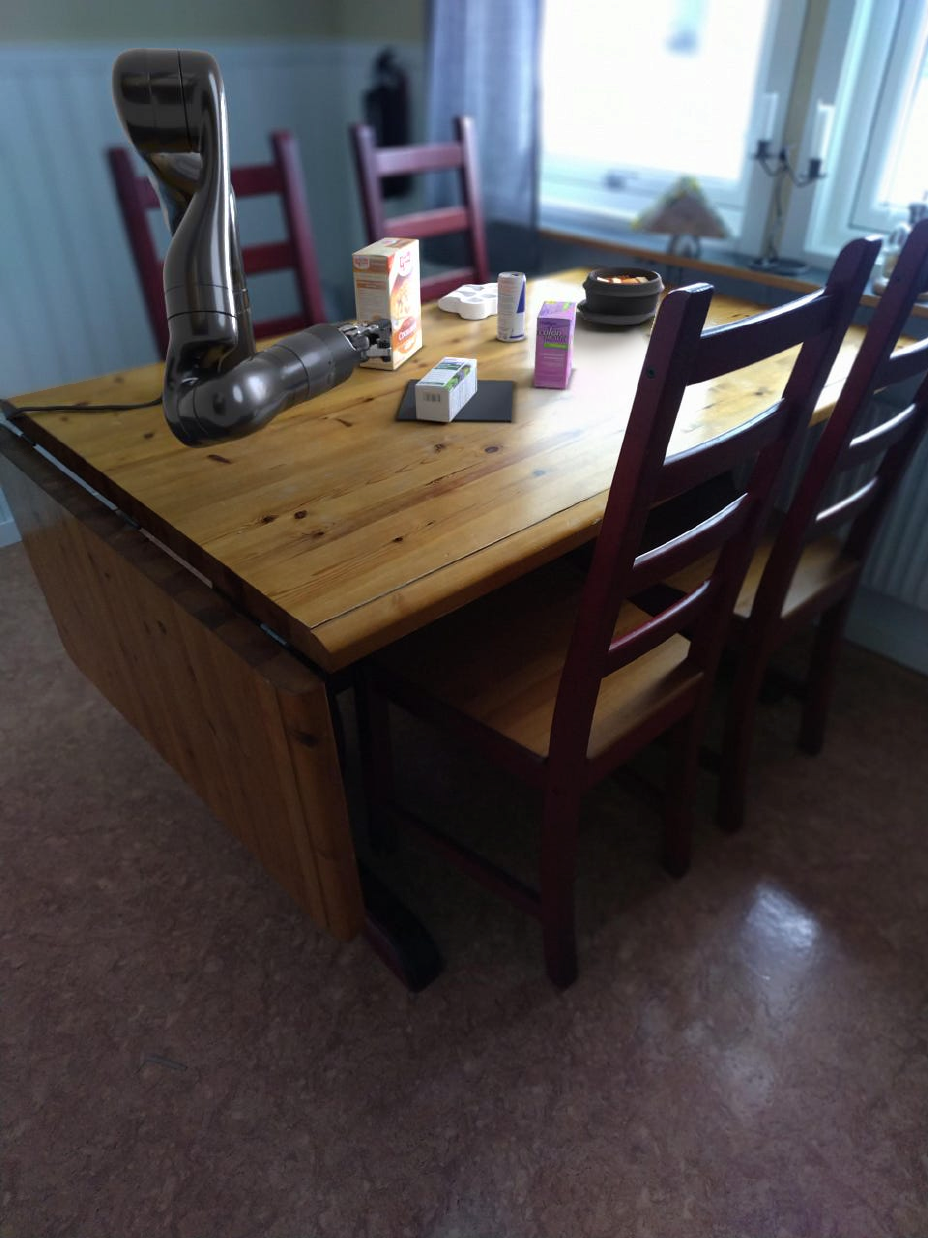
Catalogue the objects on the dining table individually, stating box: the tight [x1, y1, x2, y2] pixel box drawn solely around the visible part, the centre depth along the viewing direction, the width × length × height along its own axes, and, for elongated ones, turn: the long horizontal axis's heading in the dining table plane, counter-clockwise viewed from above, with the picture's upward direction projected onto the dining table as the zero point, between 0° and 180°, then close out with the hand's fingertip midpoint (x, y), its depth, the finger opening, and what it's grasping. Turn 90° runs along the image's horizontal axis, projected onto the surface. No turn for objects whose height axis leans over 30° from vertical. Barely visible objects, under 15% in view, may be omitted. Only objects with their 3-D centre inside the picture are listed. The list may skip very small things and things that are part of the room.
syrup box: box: [415, 356, 478, 423], centre depth 136 cm, size 6×6×14 cm
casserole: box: [576, 266, 666, 326], centre depth 177 cm, size 25×19×8 cm
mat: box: [396, 378, 514, 423], centre depth 140 cm, size 18×18×1 cm
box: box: [533, 300, 578, 390], centre depth 146 cm, size 10×6×12 cm, turn 168°
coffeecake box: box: [351, 236, 423, 371], centre depth 154 cm, size 15×7×20 cm, turn 162°
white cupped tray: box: [437, 282, 498, 321], centre depth 186 cm, size 3×18×15 cm
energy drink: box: [496, 271, 527, 343], centre depth 165 cm, size 5×5×12 cm
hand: (386, 325), depth 114 cm, fingers closed
